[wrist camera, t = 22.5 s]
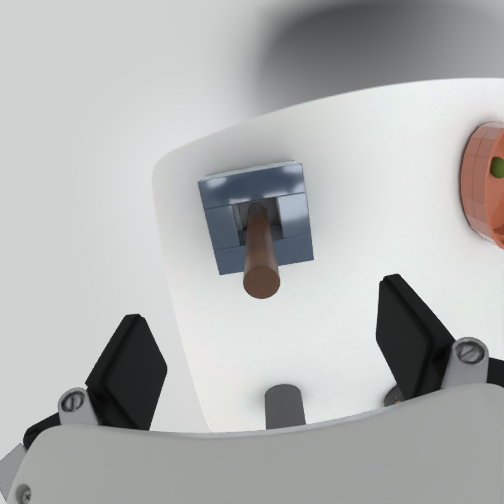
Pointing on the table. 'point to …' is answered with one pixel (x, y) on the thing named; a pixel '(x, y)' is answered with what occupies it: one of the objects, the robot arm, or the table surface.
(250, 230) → the stick
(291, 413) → the bottle
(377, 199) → the table surface
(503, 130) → the bowl
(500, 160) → the ball
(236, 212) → the holder
